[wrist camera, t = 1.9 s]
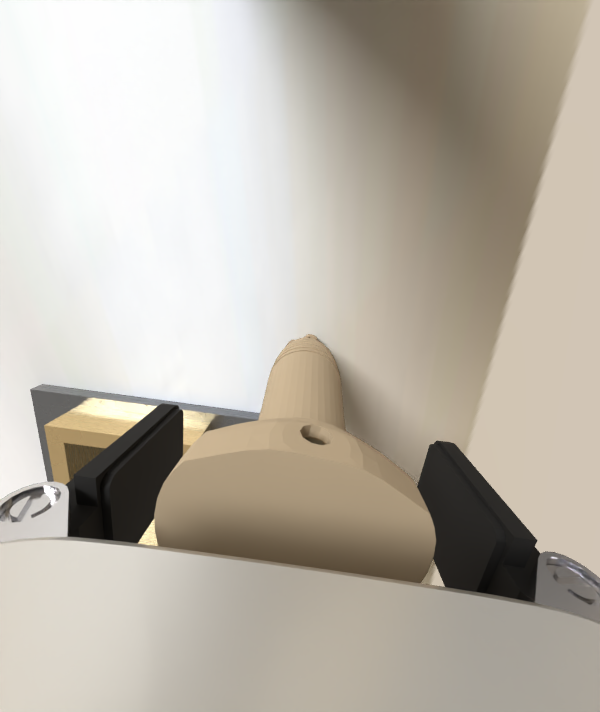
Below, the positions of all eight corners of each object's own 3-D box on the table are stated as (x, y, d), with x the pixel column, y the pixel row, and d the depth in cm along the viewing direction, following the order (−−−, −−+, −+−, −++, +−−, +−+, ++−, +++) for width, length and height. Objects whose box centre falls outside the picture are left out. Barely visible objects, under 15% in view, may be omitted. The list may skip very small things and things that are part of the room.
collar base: (42, 384, 22) (-14, 407, 19) (261, 413, 22) (250, 443, 18) (63, 508, 26) (21, 549, 23) (250, 534, 26) (239, 579, 22)
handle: (340, 392, 21) (394, 637, 7) (259, 373, 21) (148, 586, 7) (357, 332, 20) (468, 490, 6) (271, 313, 20) (161, 423, 6)
